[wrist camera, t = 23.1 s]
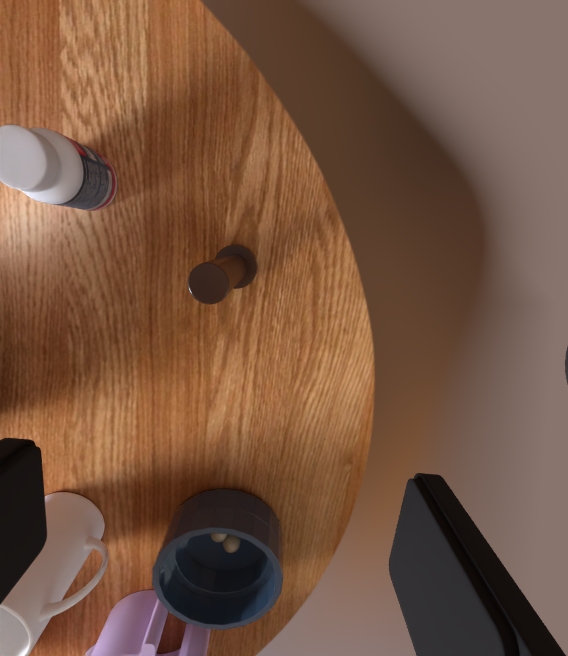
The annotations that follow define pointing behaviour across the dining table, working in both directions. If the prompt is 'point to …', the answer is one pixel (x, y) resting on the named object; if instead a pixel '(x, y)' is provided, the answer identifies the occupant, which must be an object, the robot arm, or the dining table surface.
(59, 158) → the pill bottle
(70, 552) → the mug
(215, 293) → the rod
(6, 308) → the dining table surface
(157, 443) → the dining table surface
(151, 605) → the clip
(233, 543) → the bead
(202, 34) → the dining table surface
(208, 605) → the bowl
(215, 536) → the bead
